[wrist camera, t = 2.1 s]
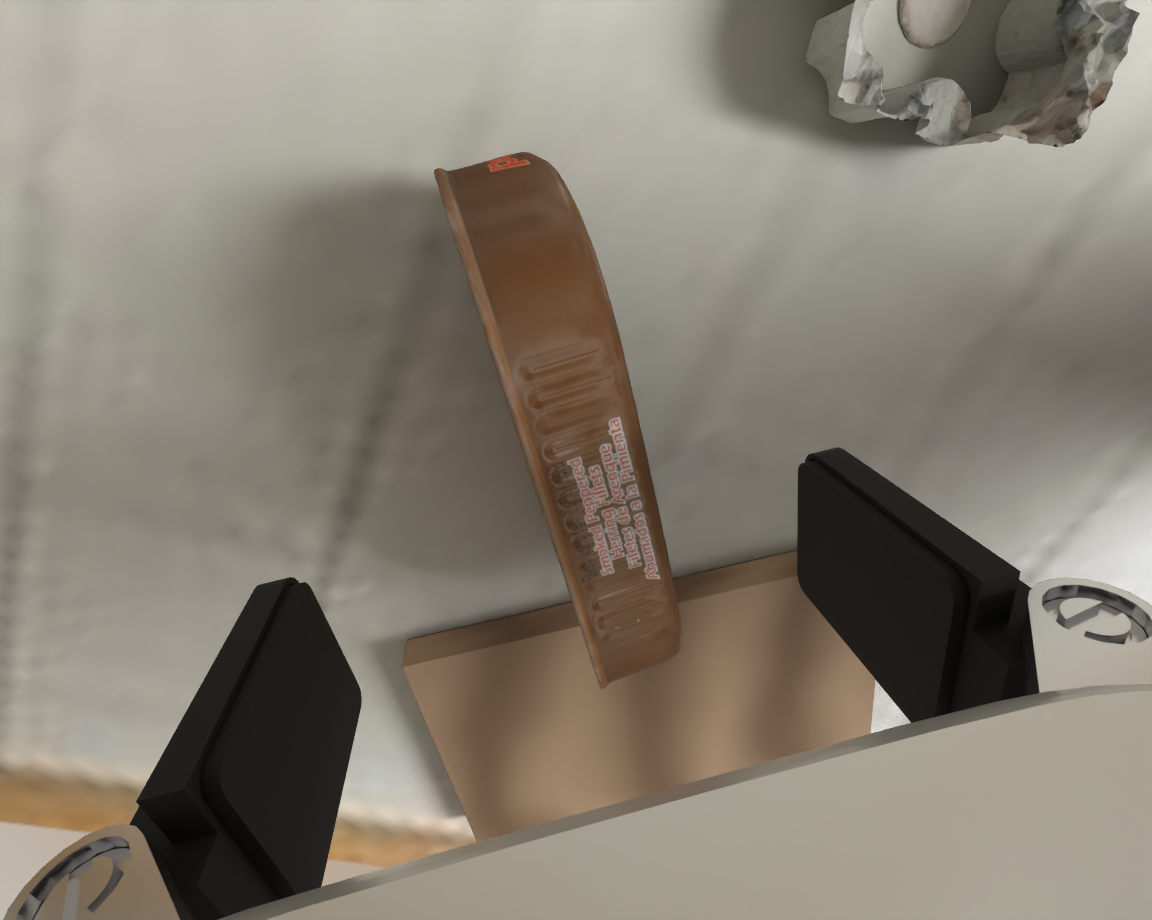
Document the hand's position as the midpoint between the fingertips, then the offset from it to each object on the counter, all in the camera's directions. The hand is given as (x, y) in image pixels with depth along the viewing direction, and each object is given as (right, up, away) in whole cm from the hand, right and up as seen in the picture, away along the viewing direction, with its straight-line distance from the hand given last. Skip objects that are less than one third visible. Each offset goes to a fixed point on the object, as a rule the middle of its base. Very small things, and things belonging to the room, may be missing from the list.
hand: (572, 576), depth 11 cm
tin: (-1, +4, +9) cm, 10 cm away
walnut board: (+4, -8, +16) cm, 18 cm away
